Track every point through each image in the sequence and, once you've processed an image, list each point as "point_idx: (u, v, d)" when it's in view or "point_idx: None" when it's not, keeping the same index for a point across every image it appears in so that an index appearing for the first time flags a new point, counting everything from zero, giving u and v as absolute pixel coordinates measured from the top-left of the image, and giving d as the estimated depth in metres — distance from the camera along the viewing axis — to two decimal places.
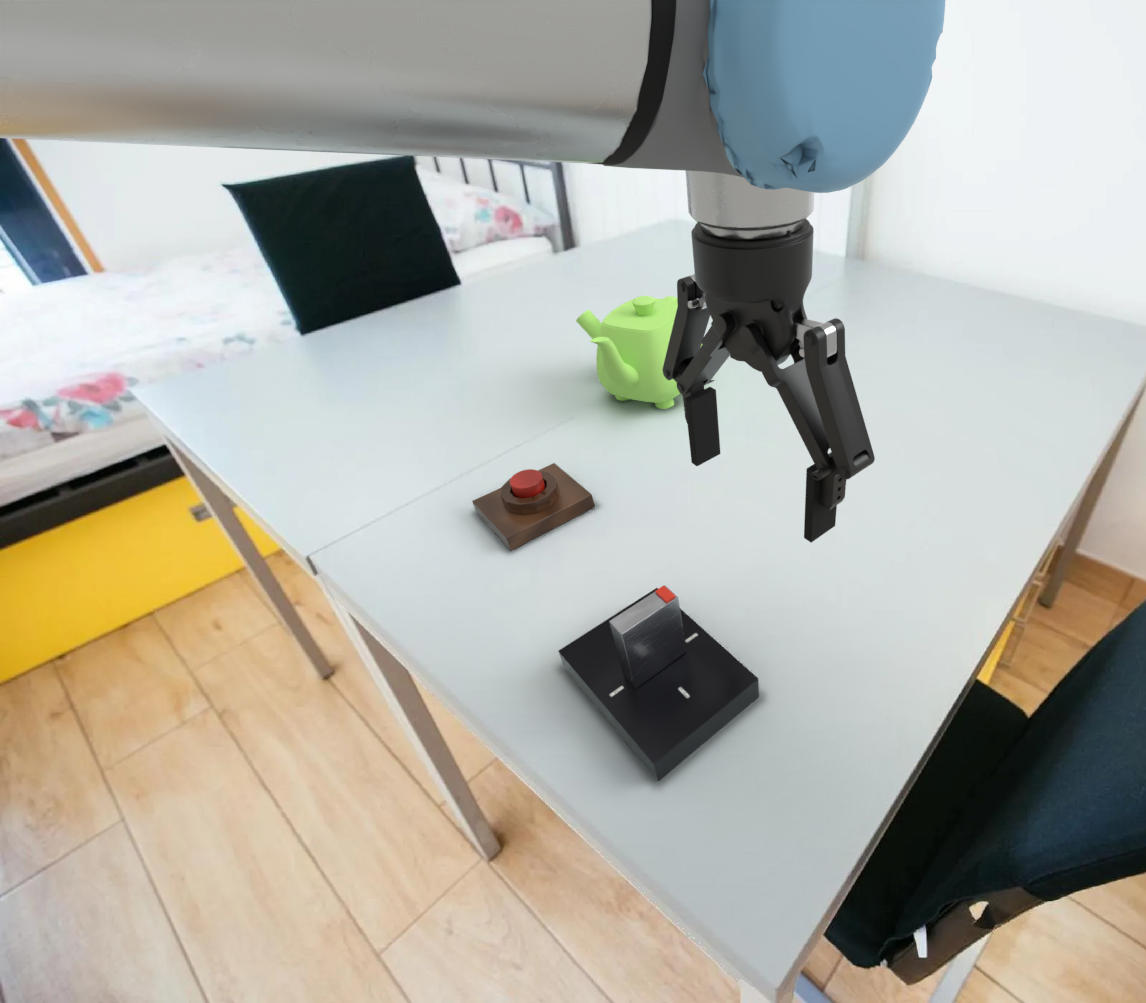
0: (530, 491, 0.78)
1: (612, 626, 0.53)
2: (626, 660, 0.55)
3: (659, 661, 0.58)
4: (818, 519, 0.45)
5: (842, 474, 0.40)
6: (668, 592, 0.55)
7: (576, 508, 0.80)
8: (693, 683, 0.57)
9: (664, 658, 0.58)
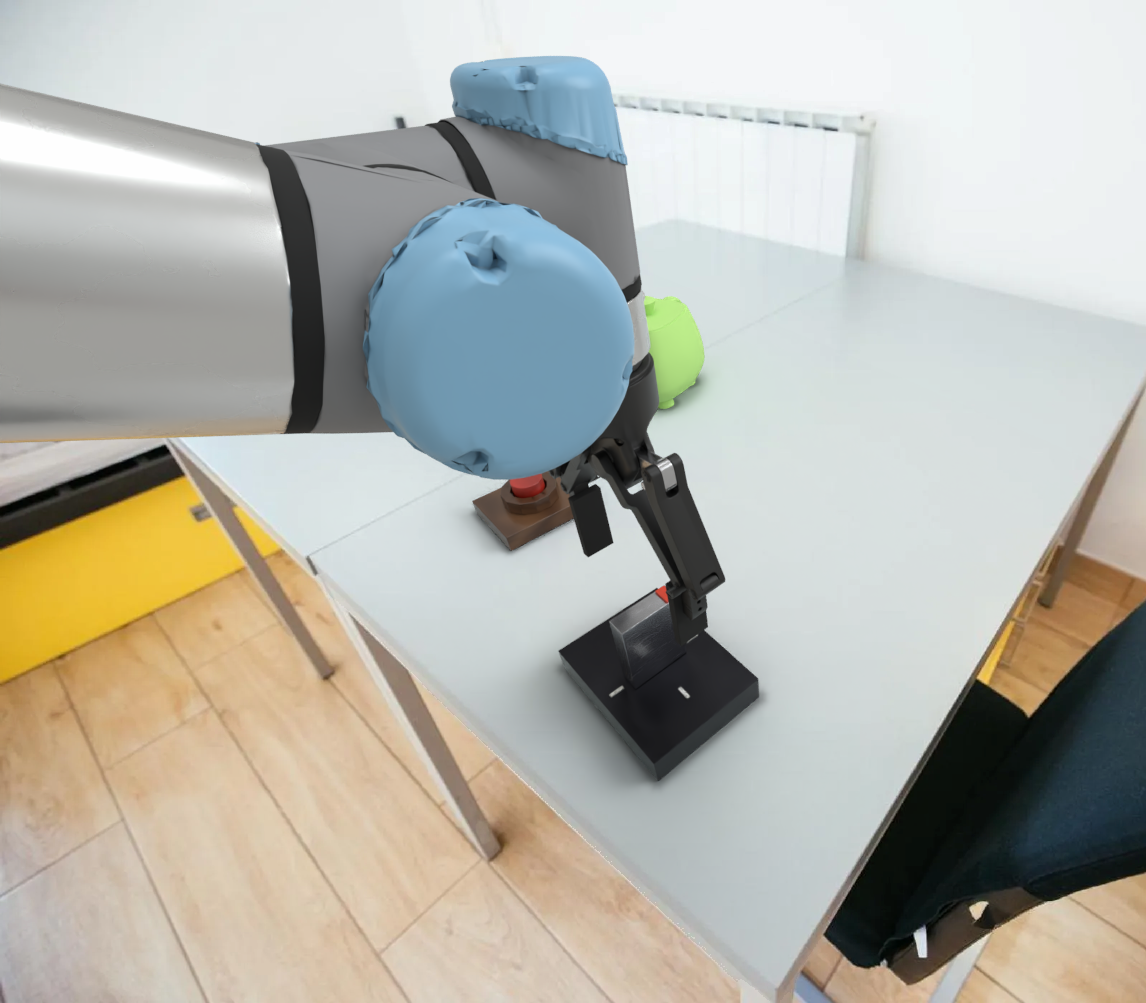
0: (530, 491, 0.78)
1: (612, 626, 0.53)
2: (626, 660, 0.55)
3: (659, 661, 0.58)
4: (685, 625, 0.47)
5: (691, 596, 0.41)
6: None
7: None
8: (693, 683, 0.57)
9: (664, 658, 0.58)
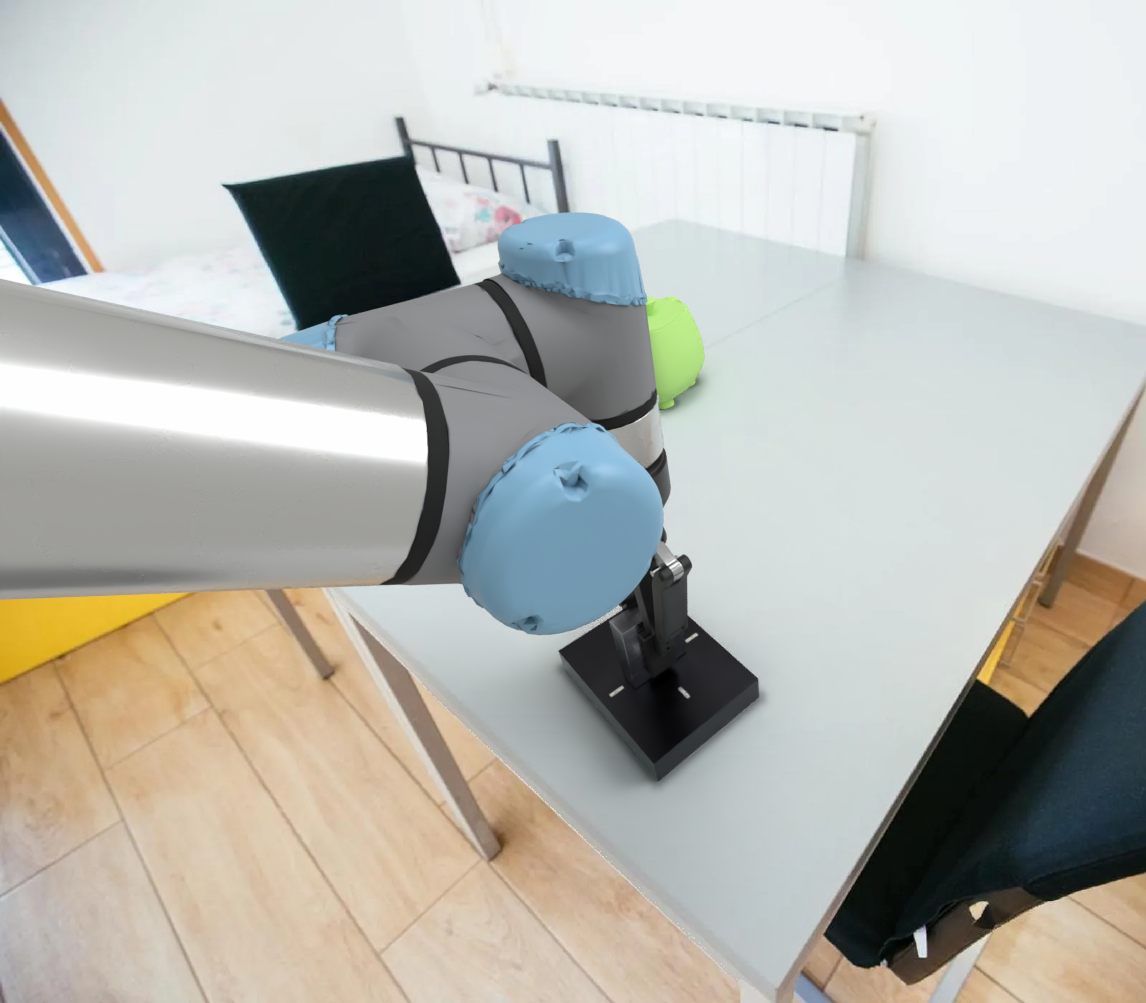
0: None
1: (612, 626, 0.53)
2: (626, 660, 0.55)
3: None
4: (657, 661, 0.56)
5: (658, 639, 0.51)
6: None
7: None
8: (693, 683, 0.57)
9: None
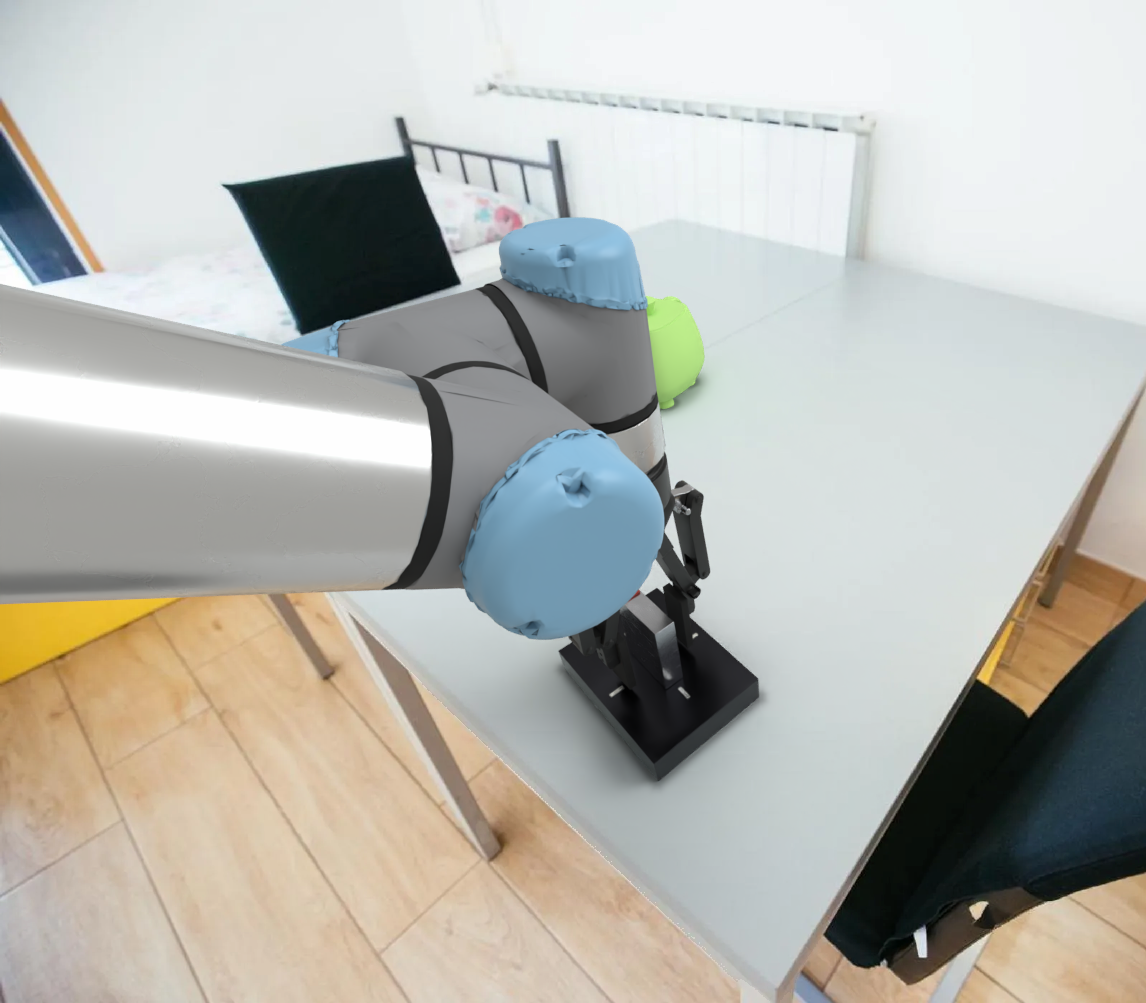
0: None
1: (660, 633, 0.52)
2: (675, 653, 0.55)
3: None
4: None
5: (705, 576, 0.56)
6: None
7: None
8: (693, 683, 0.57)
9: None
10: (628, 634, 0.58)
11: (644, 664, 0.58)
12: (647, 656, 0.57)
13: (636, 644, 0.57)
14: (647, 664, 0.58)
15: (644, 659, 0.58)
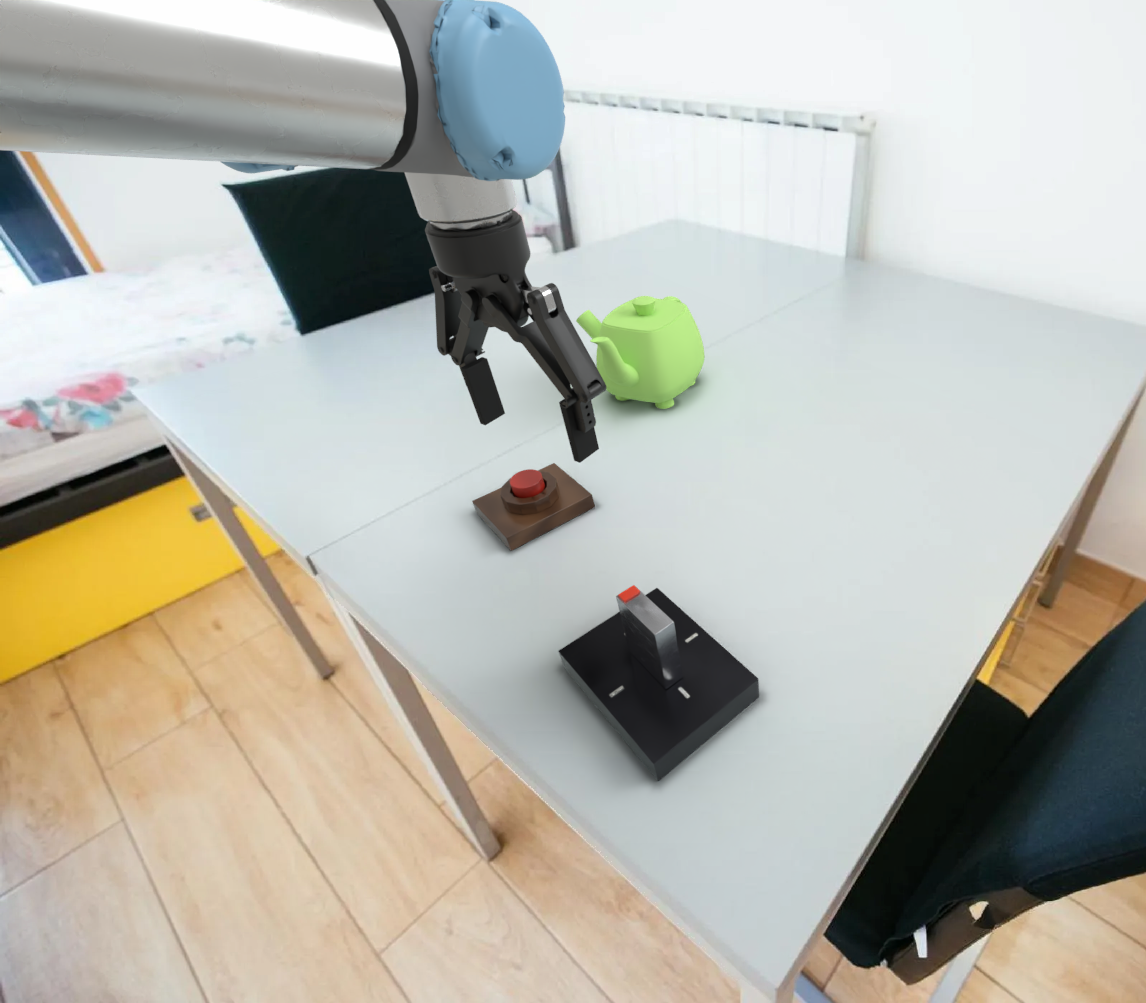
0: (530, 491, 0.78)
1: (660, 633, 0.52)
2: (675, 653, 0.55)
3: None
4: (580, 443, 0.59)
5: (582, 399, 0.54)
6: (628, 590, 0.55)
7: (576, 508, 0.80)
8: (693, 683, 0.57)
9: None
10: (628, 634, 0.58)
11: (644, 664, 0.58)
12: (647, 656, 0.57)
13: (636, 644, 0.57)
14: (647, 664, 0.58)
15: (644, 659, 0.58)
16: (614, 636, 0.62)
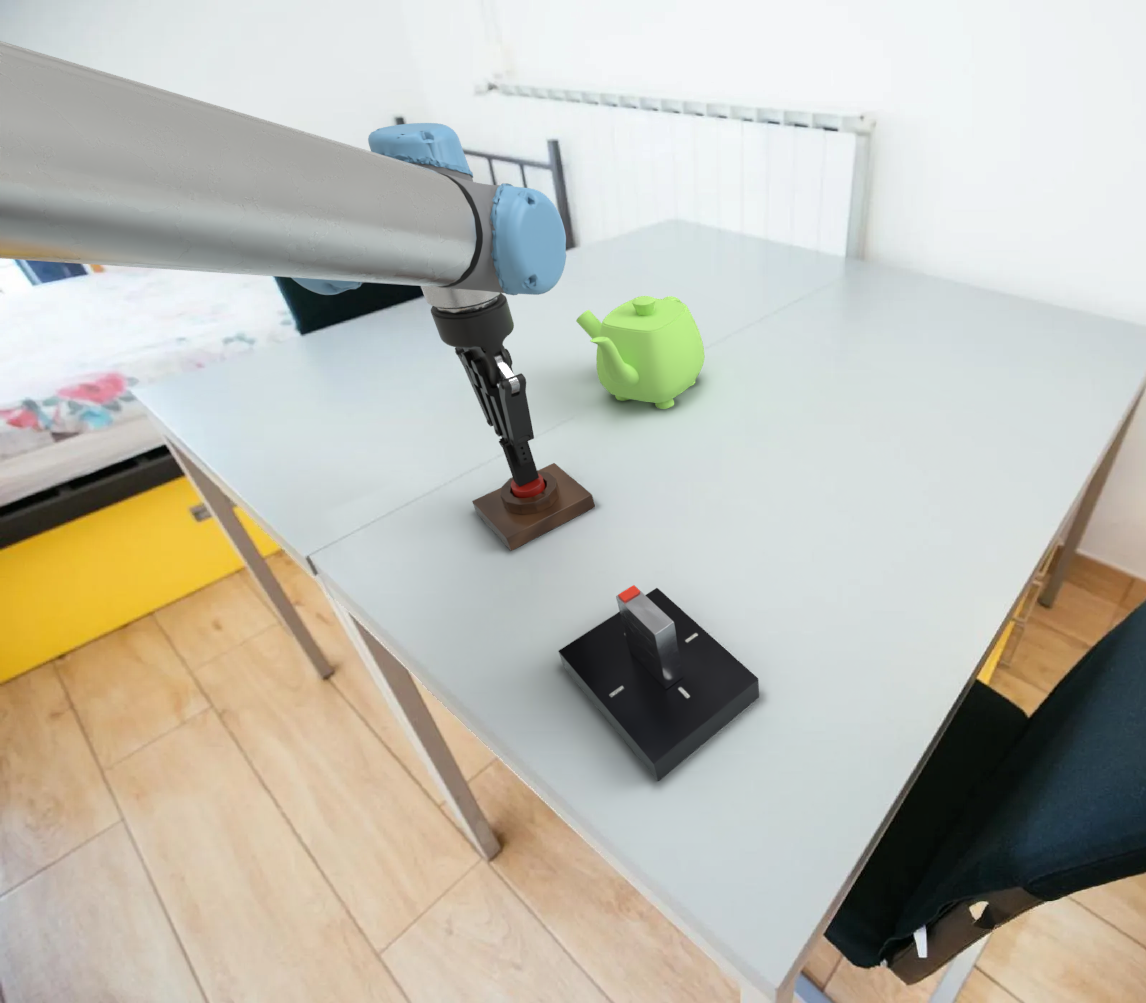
0: (531, 494, 0.78)
1: (660, 633, 0.52)
2: (675, 653, 0.55)
3: None
4: (520, 472, 0.77)
5: (511, 443, 0.72)
6: (628, 590, 0.55)
7: (576, 508, 0.80)
8: (693, 683, 0.57)
9: None
10: (628, 634, 0.58)
11: (644, 664, 0.58)
12: (647, 656, 0.57)
13: (636, 644, 0.57)
14: (647, 664, 0.58)
15: (644, 659, 0.58)
16: (614, 636, 0.62)
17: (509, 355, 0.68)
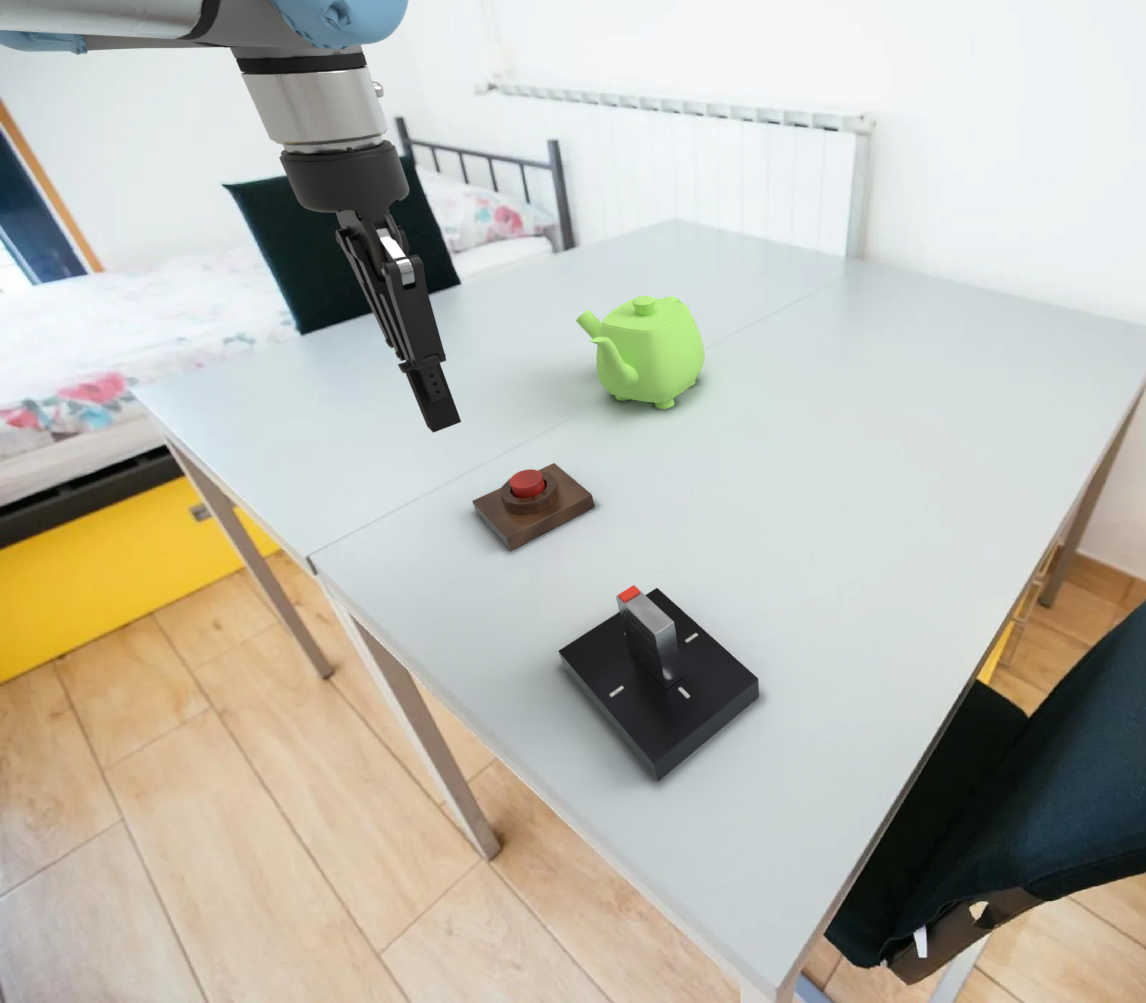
0: (530, 491, 0.78)
1: (660, 633, 0.52)
2: (675, 653, 0.55)
3: None
4: (433, 412, 0.57)
5: (412, 364, 0.52)
6: (628, 590, 0.55)
7: (576, 508, 0.80)
8: (693, 683, 0.57)
9: None
10: (628, 634, 0.58)
11: (644, 664, 0.58)
12: (647, 656, 0.57)
13: (636, 644, 0.57)
14: (647, 664, 0.58)
15: (644, 659, 0.58)
16: (614, 636, 0.62)
17: (404, 235, 0.48)
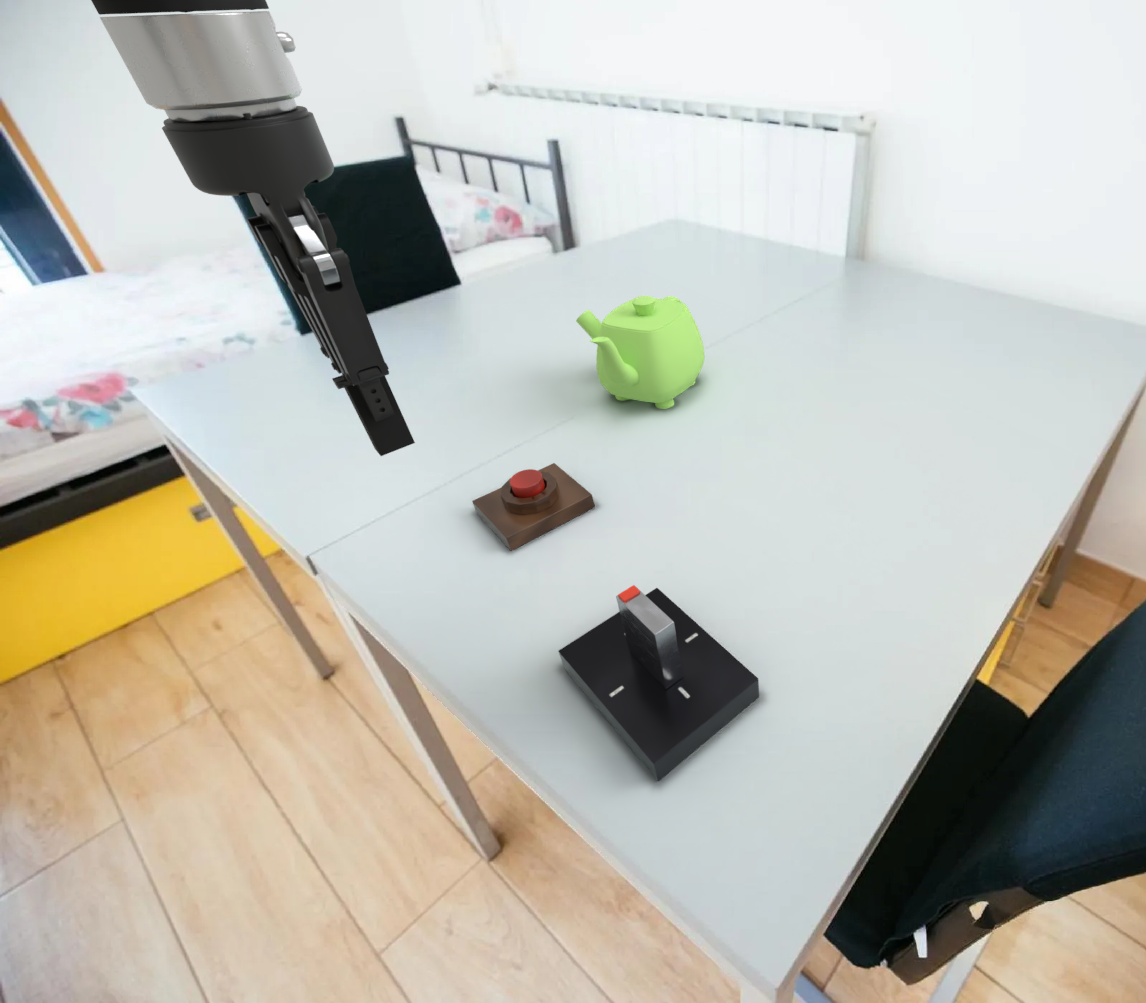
0: (530, 491, 0.78)
1: (660, 633, 0.52)
2: (675, 653, 0.55)
3: None
4: (380, 433, 0.49)
5: (347, 379, 0.44)
6: (628, 590, 0.55)
7: (576, 508, 0.80)
8: (693, 683, 0.57)
9: None
10: (628, 634, 0.58)
11: (644, 664, 0.58)
12: (647, 656, 0.57)
13: (636, 644, 0.57)
14: (647, 664, 0.58)
15: (644, 659, 0.58)
16: (614, 636, 0.62)
17: (329, 223, 0.40)
